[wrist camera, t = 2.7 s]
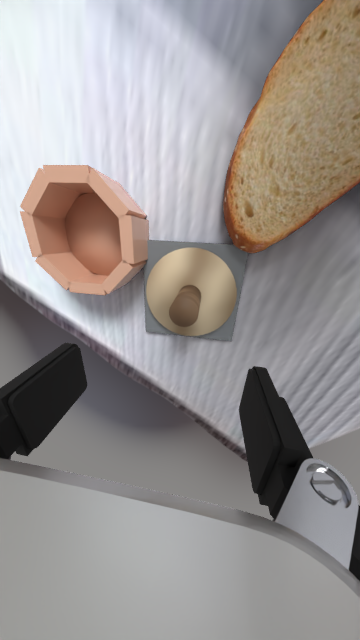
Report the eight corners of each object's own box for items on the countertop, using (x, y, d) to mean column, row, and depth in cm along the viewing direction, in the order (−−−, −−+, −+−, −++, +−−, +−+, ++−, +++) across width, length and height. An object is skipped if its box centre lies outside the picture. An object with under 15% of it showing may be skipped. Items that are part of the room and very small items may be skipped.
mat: (248, 245, 20) (249, 245, 20) (231, 339, 25) (231, 341, 25) (144, 239, 22) (142, 239, 21) (147, 329, 27) (145, 331, 26)
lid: (243, 250, 20) (257, 255, 14) (228, 337, 25) (233, 368, 19) (146, 244, 21) (122, 247, 16) (149, 328, 26) (131, 354, 20)
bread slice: (223, 255, 20) (225, 257, 17) (222, 4, 14) (227, -75, 10) (416, 239, 17) (467, 237, 14) (536, -95, 11) (689, -254, 7)
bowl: (147, 182, 19) (128, 165, 15) (150, 286, 24) (135, 298, 19) (51, 180, 21) (6, 165, 16) (71, 280, 25) (41, 289, 21)
